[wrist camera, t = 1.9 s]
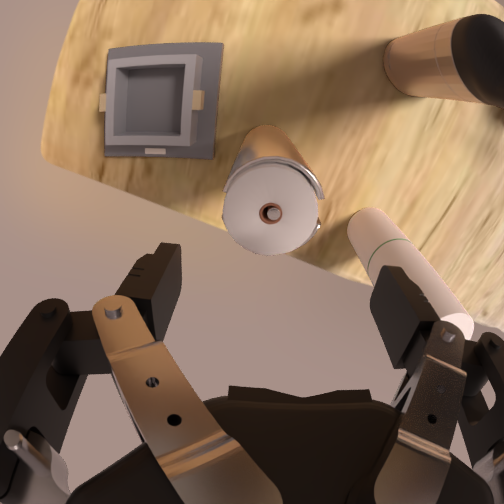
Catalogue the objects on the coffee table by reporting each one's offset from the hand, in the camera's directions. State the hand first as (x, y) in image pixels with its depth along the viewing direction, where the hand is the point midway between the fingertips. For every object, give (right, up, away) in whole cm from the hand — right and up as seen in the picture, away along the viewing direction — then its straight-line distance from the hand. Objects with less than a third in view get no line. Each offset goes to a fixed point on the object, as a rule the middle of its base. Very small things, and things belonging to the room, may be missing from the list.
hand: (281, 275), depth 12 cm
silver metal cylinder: (+1, +15, +28) cm, 32 cm away
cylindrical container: (+17, +5, +33) cm, 37 cm away
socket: (-14, +22, +25) cm, 36 cm away
